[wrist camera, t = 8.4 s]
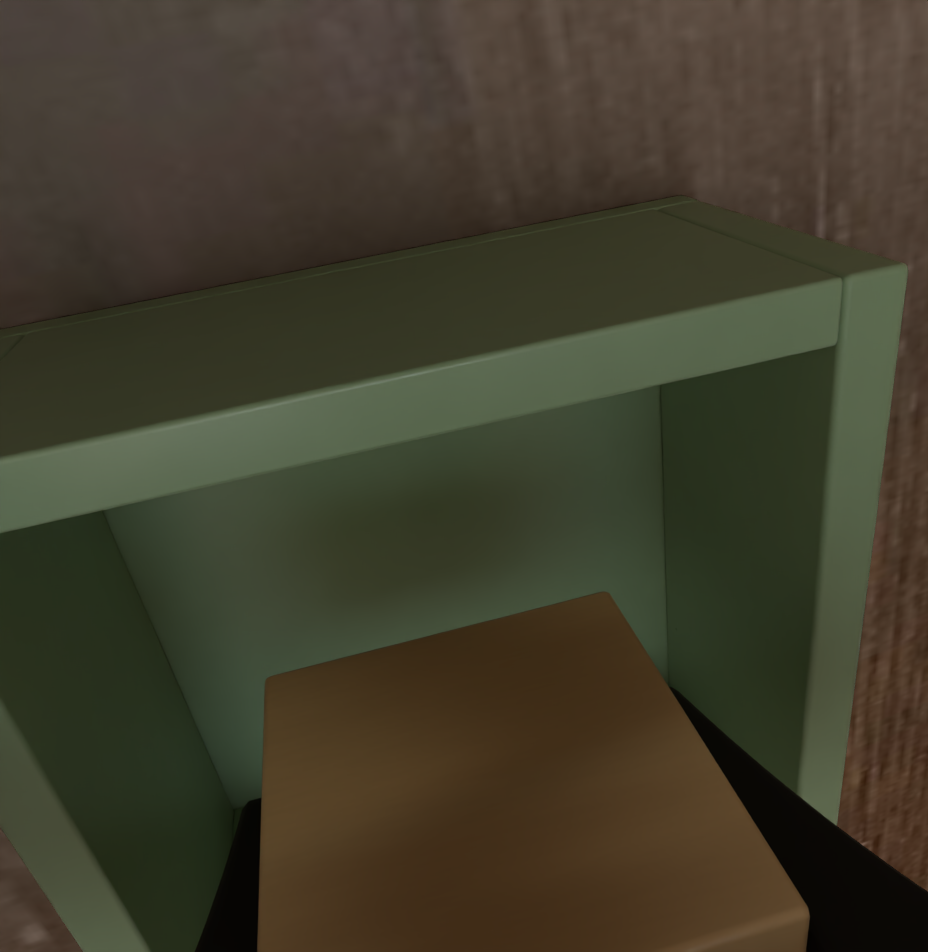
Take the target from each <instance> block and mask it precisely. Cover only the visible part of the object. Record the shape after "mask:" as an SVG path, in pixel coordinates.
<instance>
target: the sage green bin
mask: <svg viewBox="0 0 928 952" xmlns="http://www.w3.org/2000/svg"><path fill="white" fill-rule="evenodd" d="M907 276H908V268H907V265H906V264H904V263H901V262H898V261H895V260H891V259H888V258H885V257H881V256H878V255H875V254H871V253H868V252H865V251H862V250H858V249H855V248H852V247H848V246H845V245H842V244H839V243H835V242H832V241H829V240H825V239H822V238H819V237H815V236H812V235H809V234H806V233H802V232H799V231H796V230H792V229H789V228H786V227H783V226H779V225H776V224H773V223H769V222H766V221H763V220H759V219H756V218H753V217H750V216H746V215H743V214H740V213H736V212H733V211H730V210H726V209H723V208H720V207H717V206H713V205H710V204H707V203H703V202H700V201H697V200H696V199H693V198H690V197H686V196H683V195H680V196H675V197H670V198H665V199H660V200H655V201H650V202H645V203H640V204H635V205H629V206H624V207H619V208H614V209H609V210H604V211H599V212H594V213H589V214H584V215H579V216H574V217H569V218H564V219H558V220H553V221H548V222H543V223H538V224H533V225H528V226H523V227H518V228H513V229H508V230H503V231H498V232H493V233H487V234H482V235H477V236H472V237H467V238H462V239H457V240H452V241H447V242H442V243H437V244H432V245H427V246H422V247H416V248H411V249H406V250H401V251H396V252H391V253H386V254H381V255H376V256H371V257H366V258H361V259H356V260H351V261H345V262H340V263H335V264H330V265H325V266H320V267H315V268H310V269H305V270H300V271H295V272H290V273H285V274H280V275H275V276H269V277H264V278H259V279H254V280H249V281H244V282H239V283H234V284H229V285H224V286H219V287H214V288H209V289H204V290H198V291H193V292H188V293H183V294H178V295H173V296H168V297H163V298H158V299H153V300H148V301H143V302H138V303H133V304H127V305H122V306H117V307H112V308H107V309H102V310H97V311H92V312H87V313H82V314H77V315H72V316H67V317H62V318H56V319H51V320H46V321H41V322H36V323H31V324H26V325H21V326H16V327H11V328H6V329H1V330H0V827H1V829H2V830H3V832H4V833H5V835H6V836H7V838H8V839H9V841H10V842H11V844H12V845H13V847H14V848H15V850H16V851H17V853H18V854H19V856H20V857H21V859H22V860H23V862H24V863H25V865H26V866H27V868H28V869H29V871H30V872H31V874H32V875H33V877H34V878H35V880H36V881H37V883H38V884H39V886H40V887H41V889H42V890H43V892H44V893H45V895H46V896H47V898H48V899H49V901H50V902H51V904H52V905H53V907H54V908H55V910H56V911H57V913H58V914H59V916H60V917H61V919H62V921H63V922H64V924H65V925H66V927H67V928H68V930H69V931H70V933H71V934H72V936H73V937H74V939H75V940H76V942H77V943H78V945H79V946H80V948H81V949H82V951H83V952H195V950H196V947H197V945H198V942H199V939H200V937H201V934H202V932H203V929H204V926H205V924H206V921H207V918H208V915H209V912H210V909H211V907H212V904H213V901H214V898H215V895H216V892H217V889H218V886H219V884H220V880H221V877H222V874H223V871H224V868H225V865H226V862H227V859H228V856H229V853H230V849H231V846H232V843H233V839H234V836H235V833H236V829H237V826H238V822H239V819H240V815H241V812H242V809H243V808H244V806H245V805H246V804H247V803H248V801H251V800H255V799H258V798H261V796H262V761H263V726H264V690H265V681H266V679H267V678H268V677H270V676H272V675H276V674H280V673H284V672H288V671H292V670H296V669H300V668H304V667H308V666H312V665H316V664H319V663H323V662H327V661H331V660H335V659H339V658H343V657H347V656H351V655H355V654H359V653H363V652H367V651H371V650H374V649H378V648H382V647H386V646H390V645H394V644H398V643H402V642H406V641H410V640H414V639H418V638H422V637H425V636H429V635H433V634H437V633H441V632H445V631H449V630H453V629H457V628H461V627H465V626H469V625H473V624H477V623H480V622H484V621H488V620H492V619H496V618H500V617H504V616H508V615H512V614H516V613H520V612H524V611H528V610H532V609H535V608H539V607H543V606H547V605H551V604H555V603H559V602H563V601H567V600H571V599H575V598H579V597H583V596H587V595H590V594H594V593H598V592H602V591H605V592H609V593H610V595H611V596H612V598H613V599H614V601H615V603H616V604H617V606H618V607H619V609H620V611H621V612H622V614H623V615H624V617H625V618H626V620H627V622H628V623H629V625H630V626H631V628H632V630H633V631H634V633H635V634H636V636H637V637H638V639H639V641H640V642H641V644H642V645H643V647H644V649H645V650H646V652H647V653H648V655H649V656H650V658H651V660H652V661H653V663H654V664H655V666H656V668H657V669H658V671H659V672H660V674H661V675H662V677H663V679H664V680H665V682H666V683H667V685H668V687H672V688H674V689H676V690H677V691H679V692H680V693H681V694H682V695H683V696H684V697H685V698H686V699H687V700H689V701H690V702H691V703H692V704H693V705H694V706H695V707H696V708H697V709H698V710H699V711H700V712H702V713H703V714H704V715H705V716H706V717H707V718H708V719H709V720H710V721H711V722H713V723H714V724H715V725H716V726H717V727H718V728H719V729H720V730H721V731H723V732H724V733H725V734H726V735H727V736H728V737H729V738H730V739H732V740H733V741H734V742H735V743H736V744H737V745H738V746H740V747H741V748H742V749H743V750H744V751H745V752H747V753H748V754H749V755H750V756H751V757H752V758H753V759H755V760H756V761H757V762H758V763H759V764H761V765H762V766H763V767H764V768H765V769H766V770H768V771H769V772H770V773H771V774H772V775H774V776H775V777H776V778H777V779H778V780H780V781H781V782H782V783H783V784H785V785H786V786H787V787H788V788H790V789H791V790H792V791H793V792H795V793H796V794H797V795H798V796H800V797H801V798H802V799H803V800H805V801H806V802H807V803H808V804H810V805H811V806H812V807H813V808H814V809H816V810H817V811H818V812H819V813H821V814H822V815H823V816H824V817H826V818H827V819H828V820H830V821H831V822H832V823H834V824H835V825H836V826H837V820H838V812H839V805H840V797H841V789H842V781H843V773H844V766H845V758H846V750H847V742H848V735H849V727H850V719H851V711H852V704H853V696H854V688H855V680H856V673H857V665H858V657H859V649H860V641H861V634H862V626H863V618H864V610H865V603H866V595H867V587H868V579H869V572H870V564H871V556H872V548H873V540H874V533H875V525H876V517H877V509H878V502H879V494H880V486H881V478H882V471H883V463H884V455H885V447H886V440H887V432H888V424H889V416H890V408H891V401H892V393H893V385H894V377H895V370H896V362H897V354H898V346H899V339H900V331H901V323H902V315H903V308H904V300H905V292H906V284H907Z"/></svg>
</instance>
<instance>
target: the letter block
mask: <svg viewBox="0 0 928 952" xmlns="http://www.w3.org/2000/svg"><path fill="white" fill-rule="evenodd" d="M809 920H810V914H809V909H808V907H807V905H806V903H805V902H804V900H803V899H802V897H801V896H800V894H799V892H798V891H797V889H796V888H795V886H794V884H793V883H792V881H791V880H790V878H789V877H788V875H787V873H786V872H785V870H784V869H783V867H782V865H781V864H780V862H779V861H778V859H777V858H776V856H775V854H774V853H773V851H772V850H771V848H770V846H769V845H768V843H767V842H766V840H765V839H764V837H763V835H762V834H761V832H760V831H759V829H758V827H757V826H756V824H755V823H754V821H753V820H752V818H751V816H750V815H749V813H748V812H747V810H746V808H745V807H744V805H743V804H742V802H741V801H740V799H739V797H738V796H737V794H736V793H735V791H734V789H733V788H732V786H731V785H730V783H729V782H728V780H727V778H726V777H725V775H724V774H723V772H722V770H721V769H720V767H719V766H718V764H717V763H716V761H715V759H714V758H713V756H712V755H711V753H710V751H709V750H708V748H707V747H706V745H705V744H704V742H703V740H702V739H701V737H700V736H699V734H698V732H697V731H696V729H695V728H694V726H693V725H692V723H691V721H690V720H689V718H688V717H687V715H686V713H685V712H684V710H683V709H682V707H681V706H680V704H679V702H678V701H677V699H676V698H675V696H674V694H673V693H672V691H671V690H670V688H669V687H668V685H667V683H666V682H665V680H664V679H663V677H662V675H661V674H660V672H659V671H658V669H657V668H656V666H655V664H654V663H653V661H652V660H651V658H650V656H649V655H648V653H647V652H646V650H645V649H644V647H643V645H642V644H641V642H640V641H639V639H638V637H637V636H636V634H635V633H634V631H633V630H632V628H631V626H630V625H629V623H628V622H627V620H626V618H625V617H624V615H623V614H622V612H621V611H620V609H619V607H618V606H617V604H616V603H615V601H614V599H613V598H612V596H611V595H610V593H609V592H605V591H602V592H598V593H594V594H590V595H587V596H583V597H579V598H575V599H571V600H567V601H563V602H559V603H555V604H551V605H547V606H543V607H539V608H535V609H532V610H528V611H524V612H520V613H516V614H512V615H508V616H504V617H500V618H496V619H492V620H488V621H484V622H480V623H477V624H473V625H469V626H465V627H461V628H457V629H453V630H449V631H445V632H441V633H437V634H433V635H429V636H425V637H422V638H418V639H414V640H410V641H406V642H402V643H398V644H394V645H390V646H386V647H382V648H378V649H374V650H371V651H367V652H363V653H359V654H355V655H351V656H347V657H343V658H339V659H335V660H331V661H327V662H323V663H319V664H316V665H312V666H308V667H304V668H300V669H296V670H292V671H288V672H284V673H280V674H276V675H272V676H270V677H268V678H267V679H266V681H265V690H264V726H263V761H262V796H261V831H260V866H259V902H258V937H257V952H806V947H807V938H808V929H809Z"/></svg>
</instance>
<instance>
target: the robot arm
mask: <svg viewBox="0 0 928 952" xmlns="http://www.w3.org/2000/svg"><path fill="white" fill-rule="evenodd" d="M669 688H670V690H671V691H672V693H673V694H674V696H675V698H676V699H677V701H678V702H679V704H680V706H681V707H682V709H683V710H684V712H685V713H686V715H687V717H688V718H689V720H690V721H691V723H692V725H693V726H694V728H695V729H696V731H697V732H698V734H699V736H700V737H701V739H702V740H703V742H704V744H705V745H706V747H707V748H708V750H709V751H710V753H711V755H712V756H713V758H714V759H715V761H716V763H717V764H718V766H719V767H720V769H721V770H722V772H723V774H724V775H725V777H726V778H727V780H728V782H729V783H730V785H731V786H732V788H733V789H734V791H735V793H736V794H737V796H738V797H739V799H740V801H741V802H742V804H743V805H744V807H745V808H746V810H747V812H748V813H749V815H750V816H751V818H752V820H753V821H754V823H755V824H756V826H757V827H758V829H759V831H760V832H761V834H762V835H763V837H764V839H765V840H766V842H767V843H768V845H769V846H770V848H771V850H772V851H773V853H774V854H775V856H776V858H777V859H778V861H779V862H780V864H781V865H782V867H783V869H784V870H785V872H786V873H787V875H788V877H789V878H790V880H791V881H792V883H793V884H794V886H795V888H796V889H797V891H798V892H799V894H800V896H801V897H802V899H803V900H804V902H805V903H806V905H807V907H808V909H809V914H810V920H809V929H808V938H807V947H806V952H928V892H927V891H926V890H924V889H923V888H921V887H920V886H918V885H917V884H915V883H914V882H913V881H911V880H910V879H908V878H907V877H905V876H904V875H903V874H901V873H900V872H898V871H897V870H896V869H894V868H893V867H891V866H890V865H889V864H887V863H886V862H885V861H883V860H882V859H880V858H879V857H878V856H876V855H875V854H874V853H872V852H871V851H870V850H868V849H867V848H865V847H864V846H863V845H861V844H860V843H859V842H857V841H856V840H855V839H853V838H852V837H851V836H849V835H848V834H847V833H845V832H844V831H843V830H841V829H840V828H839V827H837V826H836V825H835V824H834V823H832V822H831V821H830V820H828V819H827V818H826V817H824V816H823V815H822V814H821V813H819V812H818V811H817V810H816V809H814V808H813V807H812V806H811V805H810V804H808V803H807V802H806V801H805V800H803V799H802V798H801V797H800V796H798V795H797V794H796V793H795V792H793V791H792V790H791V789H790V788H788V787H787V786H786V785H785V784H783V783H782V782H781V781H780V780H778V779H777V778H776V777H775V776H774V775H772V774H771V773H770V772H769V771H768V770H766V769H765V768H764V767H763V766H762V765H761V764H759V763H758V762H757V761H756V760H755V759H753V758H752V757H751V756H750V755H749V754H748V753H747V752H745V751H744V750H743V749H742V748H741V747H740V746H738V745H737V744H736V743H735V742H734V741H733V740H732V739H730V738H729V737H728V736H727V735H726V734H725V733H724V732H723V731H721V730H720V729H719V728H718V727H717V726H716V725H715V724H714V723H713V722H711V721H710V720H709V719H708V718H707V717H706V716H705V715H704V714H703V713H702V712H700V711H699V710H698V709H697V708H696V707H695V706H694V705H693V704H692V703H691V702H690V701H689V700H687V699H686V698H685V697H684V696H683V695H682V694H681V693H680V692H679V691H677V690H676V689H674V688H672V687H669ZM260 831H261V798H258V799H255V800H251V801H248V803H247V804H246V805H245V806H244V808H243V809H242V812H241V815H240V819H239V822H238V826H237V829H236V833H235V836H234V839H233V843H232V846H231V849H230V853H229V856H228V859H227V862H226V865H225V868H224V871H223V874H222V877H221V880H220V884H219V886H218V889H217V892H216V895H215V898H214V901H213V904H212V907H211V909H210V912H209V915H208V918H207V921H206V924H205V926H204V929H203V932H202V934H201V937H200V939H199V942H198V945H197V947H196V950H195V952H257V937H258V902H259V866H260Z"/></svg>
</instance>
